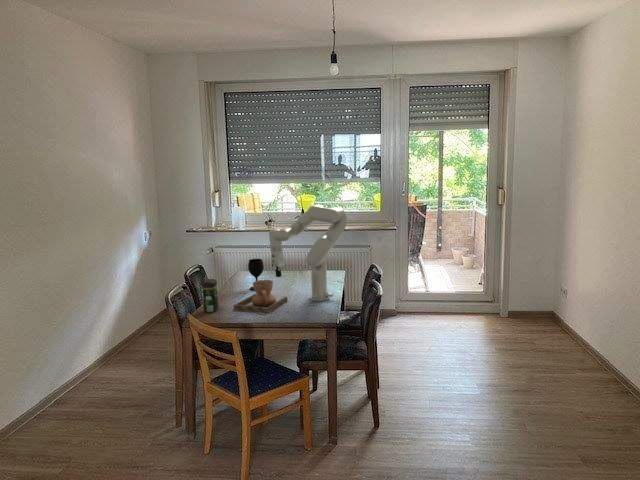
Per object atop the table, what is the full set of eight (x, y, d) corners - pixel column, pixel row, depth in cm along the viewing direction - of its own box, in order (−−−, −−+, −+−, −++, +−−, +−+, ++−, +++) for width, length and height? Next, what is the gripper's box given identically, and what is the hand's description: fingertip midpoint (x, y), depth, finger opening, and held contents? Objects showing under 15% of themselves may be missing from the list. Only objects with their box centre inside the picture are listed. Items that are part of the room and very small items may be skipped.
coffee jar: (207, 308, 299) (205, 277, 296) (220, 308, 298) (218, 277, 295) (201, 312, 289) (199, 281, 286) (215, 313, 288) (213, 281, 285)
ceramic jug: (252, 301, 310) (250, 279, 307) (275, 299, 312) (274, 277, 309) (252, 310, 292) (250, 287, 290) (276, 308, 294) (275, 285, 291)
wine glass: (261, 290, 334) (260, 261, 331) (247, 290, 336) (245, 261, 333) (266, 287, 344) (265, 258, 341) (252, 286, 346) (250, 258, 343)
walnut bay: (287, 301, 308) (287, 296, 307) (268, 313, 285) (268, 308, 284) (254, 298, 316) (254, 294, 316) (233, 309, 293) (233, 305, 293)
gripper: (276, 250, 308) (278, 279, 311) (286, 246, 322) (289, 274, 324) (265, 250, 311) (268, 279, 314) (276, 246, 324) (278, 273, 327)
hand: (278, 276), depth 319 cm, fingers closed
